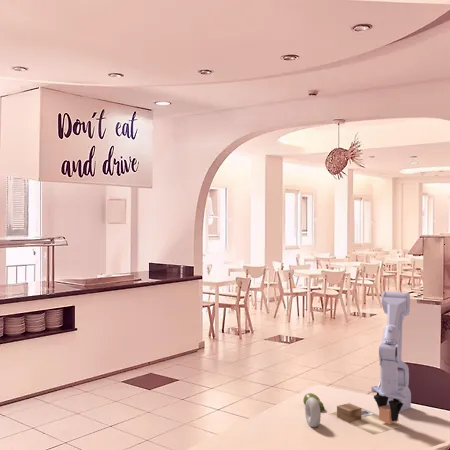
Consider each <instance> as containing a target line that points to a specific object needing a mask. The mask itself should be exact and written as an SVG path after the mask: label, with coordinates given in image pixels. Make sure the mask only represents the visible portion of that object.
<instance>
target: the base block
mask: <svg viewBox="0 0 450 450" xmlns="http://www.w3.org/2000/svg"><path fill="white" fill-rule="evenodd" d="M361 408H362V407H360V406H357V405H356V404H352V403H351V402H349V403H346V404H345V403H344V404H339V405H337V406H336V412H337V417H338V418H340V419H342V420H344V421H343V422H345V421H347V422H353V421H357V420H360V419H361ZM338 418H337V419H338ZM340 419H339V420H340ZM342 420H341V421H342ZM347 422H346V423H347Z"/></svg>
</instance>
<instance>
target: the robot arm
mask: <svg viewBox="0 0 450 450" xmlns="http://www.w3.org/2000/svg"><path fill="white" fill-rule="evenodd" d="M410 304H411V294H410V292H400V291H399V292H398V291H386V290H384V291H383V292H382V294H381V305H382V306H381V307H382V310H383V312H384V314H385V315H386V318H387V319H386V321H387V322H386V325H385V326H384V327H383V331H382V337H381V344H379V347H378V359H379V367H380V374H379V375H380V377H379V378H380V380H379V381H380V386H378V385H374V386H373V385H372V386H371V393H375V395H373V399H374V401H375V402H376V405H377V408H378V409H379V407H381V406H385V405H390V409H391V419H392V421H396V420H397V419H398V420H399V414H400V412H404V411H406V410H408V409H409V410H410V409H411V408H412V407H411V406H412V392H411V389H410V388H409V382H410V372H409V371H410V369H409V367H408V366H409V365H408V364H407V363H405V362H404V360H402V345H403V343H402V342H403V321H404V318H405V317H406V316H408V315H409V314H410V308H411V307H410V306H411V305H410Z"/></svg>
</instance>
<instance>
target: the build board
mask: <svg viewBox="0 0 450 450" xmlns="http://www.w3.org/2000/svg"><path fill="white" fill-rule="evenodd" d="M360 408H361V419H360V420H357V421H353V422H347V421H344V420H342V419H340V418H338V417H337V411H335V412H332V413H331V412H330V413H328V415H329V416H332V417H334V418H336V419H338V420H341V421H342V422H345V423H347V424H349V425H352V426H353V427H356V428H358V429H360V430H362V431H365V432H367V433H369V434H371V435H377V434H381V433H384V432H387V431H391V430H395V429H398V428H401V427H405V425H404V424H402V423H400V422H394V423H391V424H388V423H386V422H384V421H381V420H379V413H375V412H372V411H370V410H368V409H366V408H363V407H360Z"/></svg>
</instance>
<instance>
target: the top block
mask: <svg viewBox="0 0 450 450" xmlns="http://www.w3.org/2000/svg"><path fill="white" fill-rule="evenodd" d="M378 410H379V411H378V412H379V413H378V415H379V420H381V421H384V422H386V423H388V424H391V423H394V422H397V423H399V418H398V419H397V420H396V421H392V419H391V409H390V405H385V406H381V407H379V408H378Z"/></svg>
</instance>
